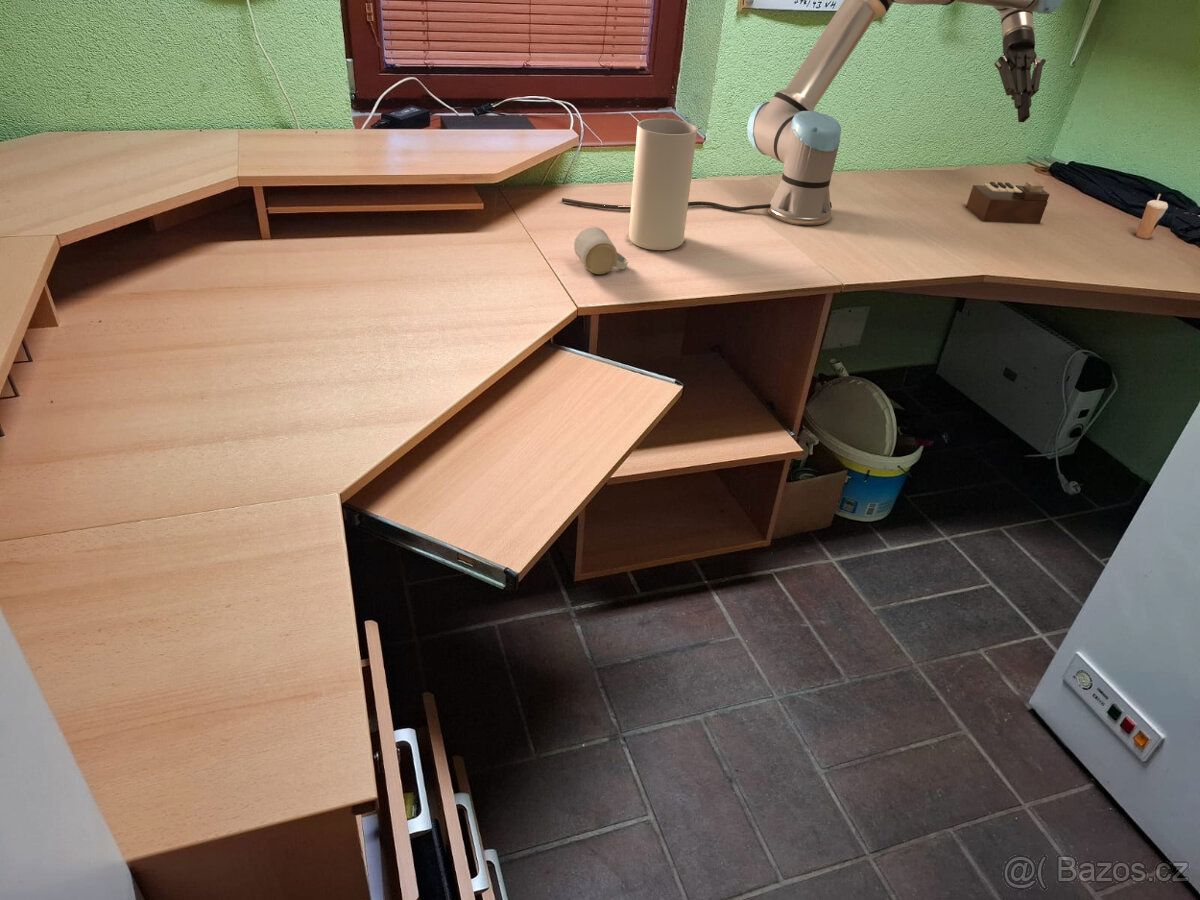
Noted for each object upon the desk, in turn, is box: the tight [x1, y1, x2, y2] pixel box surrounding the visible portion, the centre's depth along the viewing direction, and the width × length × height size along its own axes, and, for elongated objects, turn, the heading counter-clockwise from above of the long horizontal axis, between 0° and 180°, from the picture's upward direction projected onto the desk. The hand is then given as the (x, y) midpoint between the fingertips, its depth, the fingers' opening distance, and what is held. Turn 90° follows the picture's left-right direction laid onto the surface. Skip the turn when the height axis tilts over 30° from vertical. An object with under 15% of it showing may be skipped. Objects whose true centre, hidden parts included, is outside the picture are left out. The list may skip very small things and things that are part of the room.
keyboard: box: [983, 181, 1022, 193], centre depth 206 cm, size 8×5×1 cm
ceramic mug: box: [573, 226, 629, 275], centre depth 168 cm, size 11×8×8 cm
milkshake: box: [1135, 193, 1169, 240], centre depth 203 cm, size 5×5×10 cm
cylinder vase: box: [628, 118, 698, 251], centre depth 177 cm, size 12×12×25 cm
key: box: [1023, 181, 1045, 193], centre depth 206 cm, size 3×3×2 cm
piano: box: [965, 184, 1051, 225], centre depth 210 cm, size 15×11×8 cm
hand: (1024, 119), depth 210 cm, fingers closed
